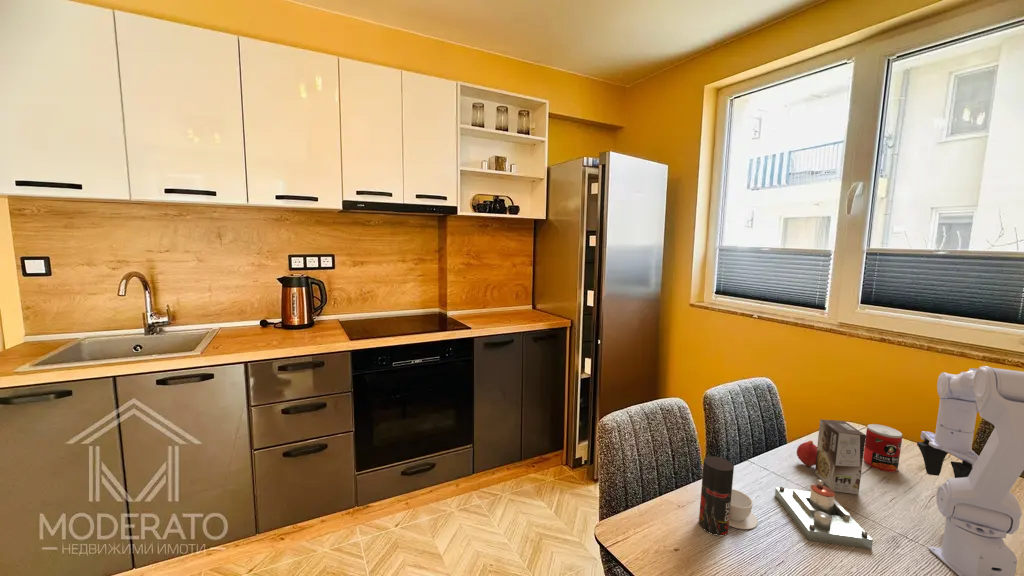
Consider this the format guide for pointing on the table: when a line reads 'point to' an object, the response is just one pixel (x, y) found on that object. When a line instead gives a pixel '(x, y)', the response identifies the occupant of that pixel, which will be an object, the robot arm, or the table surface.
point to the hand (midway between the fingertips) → (946, 483)
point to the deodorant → (716, 495)
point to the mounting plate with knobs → (822, 520)
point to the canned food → (882, 447)
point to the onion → (807, 453)
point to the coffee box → (840, 456)
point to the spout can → (822, 498)
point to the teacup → (741, 511)
